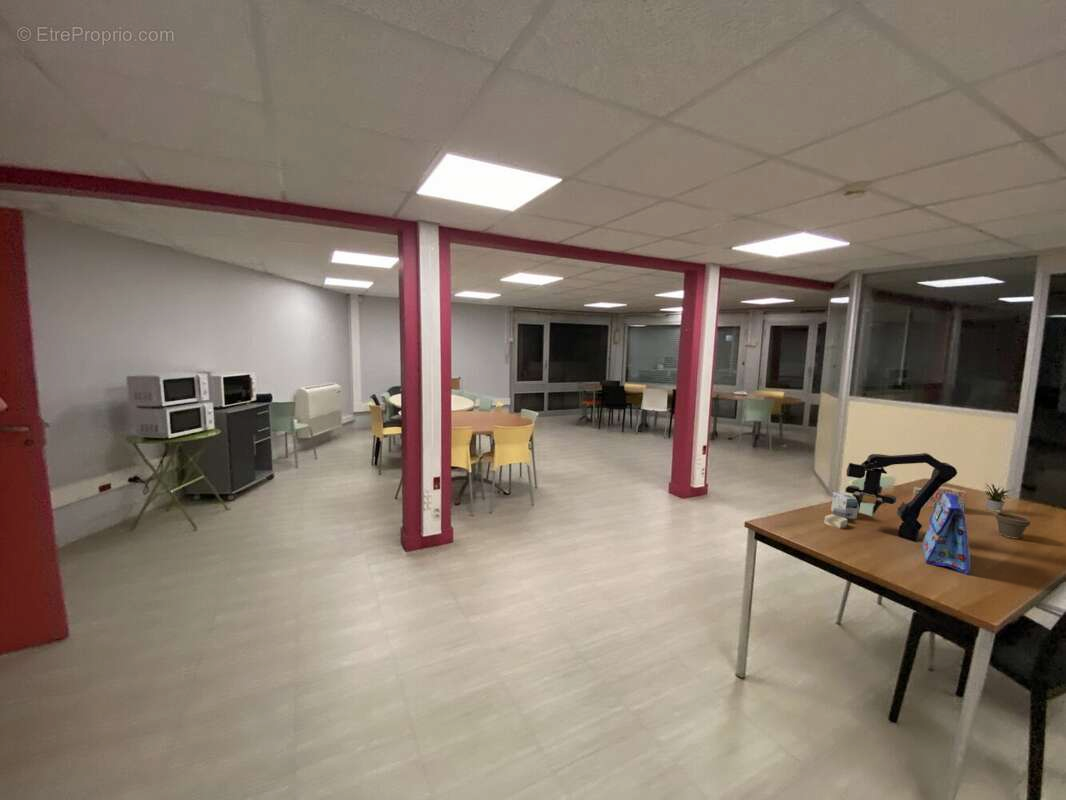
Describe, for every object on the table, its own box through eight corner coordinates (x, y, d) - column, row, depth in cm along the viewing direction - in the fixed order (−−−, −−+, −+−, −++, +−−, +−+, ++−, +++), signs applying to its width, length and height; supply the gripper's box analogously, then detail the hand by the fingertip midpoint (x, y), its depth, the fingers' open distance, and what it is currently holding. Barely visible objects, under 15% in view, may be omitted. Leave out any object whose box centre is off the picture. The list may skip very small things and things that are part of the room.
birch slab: (846, 526, 210) (847, 519, 210) (839, 529, 207) (840, 521, 206) (830, 521, 216) (831, 513, 216) (823, 523, 213) (825, 516, 212)
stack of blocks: (913, 504, 248) (916, 484, 247) (911, 501, 253) (914, 481, 252) (963, 514, 237) (967, 492, 235) (960, 510, 242) (964, 489, 240)
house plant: (966, 505, 250) (972, 479, 248) (981, 504, 254) (986, 478, 252) (999, 515, 237) (1004, 487, 234) (1014, 513, 241) (1020, 486, 239)
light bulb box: (857, 519, 220) (860, 499, 219) (844, 518, 220) (847, 498, 219) (842, 511, 231) (845, 492, 230) (830, 510, 231) (832, 491, 230)
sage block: (874, 514, 207) (876, 504, 206) (871, 516, 204) (873, 506, 203) (862, 510, 211) (864, 500, 210) (859, 512, 208) (860, 502, 207)
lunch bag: (920, 546, 192) (931, 484, 188) (962, 556, 184) (975, 492, 180) (924, 563, 176) (936, 496, 172) (970, 576, 167) (984, 506, 163)
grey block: (844, 519, 219) (845, 510, 219) (843, 522, 216) (845, 513, 215) (832, 516, 223) (834, 507, 222) (831, 519, 219) (833, 510, 218)
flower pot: (987, 529, 216) (991, 510, 215) (1019, 535, 210) (1024, 515, 209) (997, 537, 206) (1001, 517, 205) (1031, 544, 200) (1035, 523, 199)
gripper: (902, 483, 202) (896, 514, 204) (855, 472, 217) (850, 501, 219) (895, 487, 196) (889, 519, 198) (847, 475, 211) (842, 505, 213)
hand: (867, 511), depth 207 cm, fingers closed on sage block, 5 cm apart
